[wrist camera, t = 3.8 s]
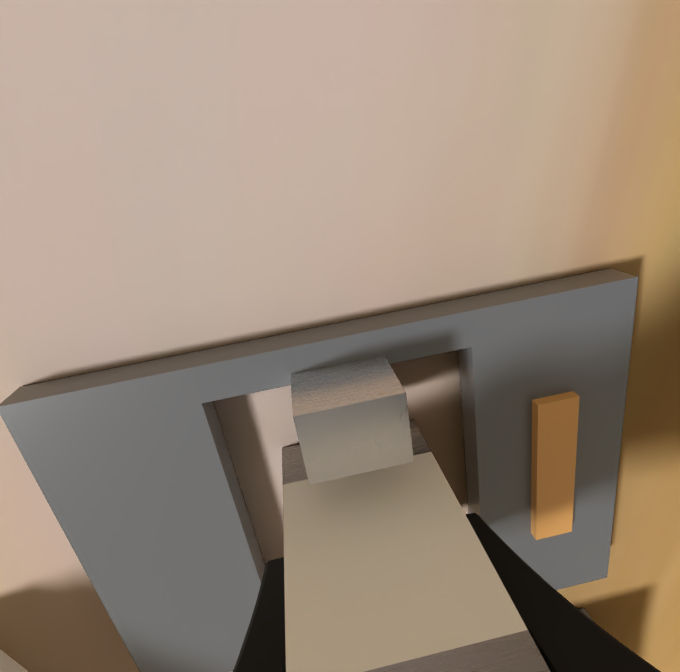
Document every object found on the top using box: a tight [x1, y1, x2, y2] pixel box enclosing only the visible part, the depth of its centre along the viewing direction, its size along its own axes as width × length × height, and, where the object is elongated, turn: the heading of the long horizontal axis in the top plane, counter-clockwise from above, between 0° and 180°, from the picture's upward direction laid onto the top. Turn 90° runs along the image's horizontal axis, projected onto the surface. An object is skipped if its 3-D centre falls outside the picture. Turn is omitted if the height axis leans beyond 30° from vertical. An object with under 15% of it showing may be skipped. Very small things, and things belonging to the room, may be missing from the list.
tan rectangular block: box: [282, 419, 550, 672], centre depth 10 cm, size 4×4×8 cm
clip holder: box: [0, 268, 638, 672], centre depth 12 cm, size 16×11×3 cm
